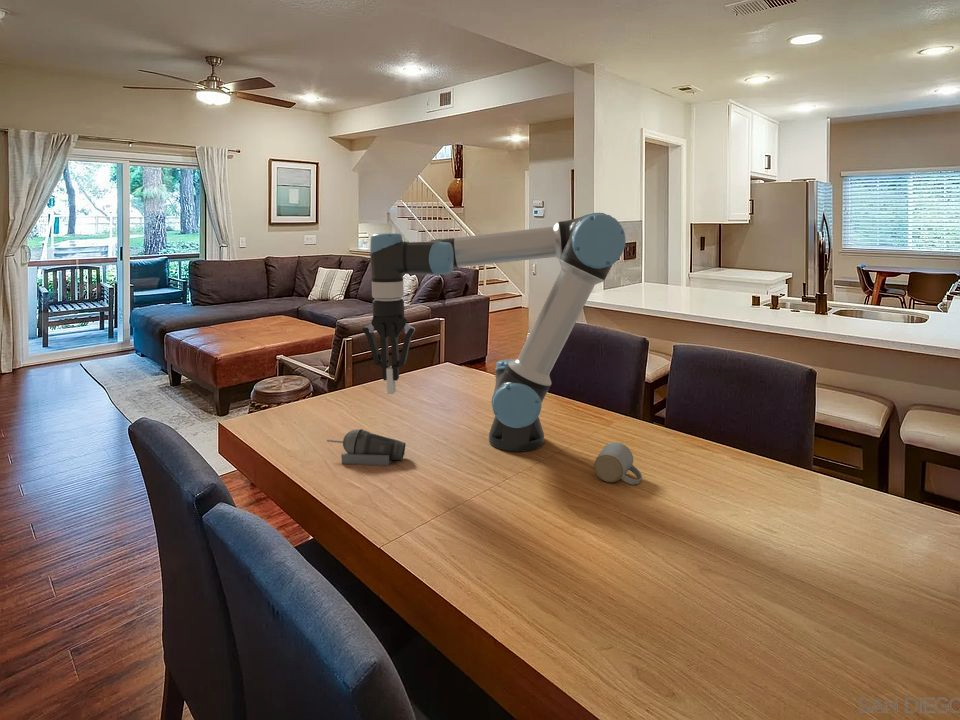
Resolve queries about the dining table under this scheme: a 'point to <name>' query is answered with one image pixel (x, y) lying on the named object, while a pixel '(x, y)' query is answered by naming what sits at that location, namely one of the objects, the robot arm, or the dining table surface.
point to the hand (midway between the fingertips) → (391, 392)
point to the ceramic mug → (616, 464)
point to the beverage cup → (372, 444)
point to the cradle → (365, 459)
